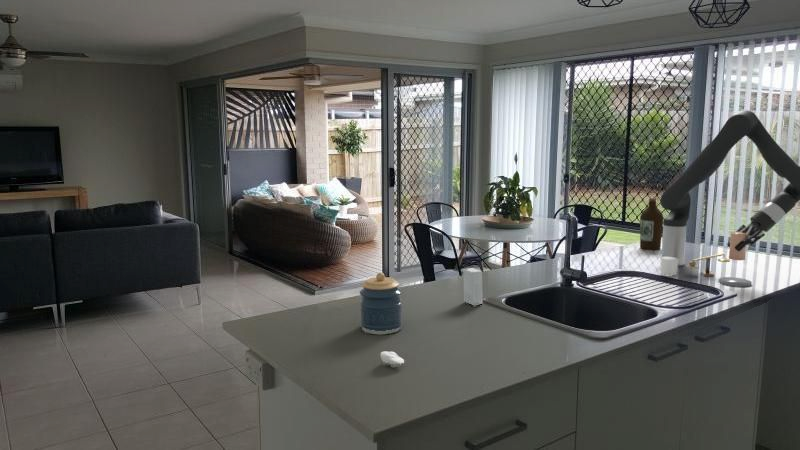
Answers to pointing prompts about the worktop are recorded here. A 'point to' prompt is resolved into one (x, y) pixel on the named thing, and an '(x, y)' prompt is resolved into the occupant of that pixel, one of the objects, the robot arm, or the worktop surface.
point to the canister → (381, 304)
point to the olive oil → (651, 227)
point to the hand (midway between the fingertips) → (732, 247)
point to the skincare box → (473, 286)
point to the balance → (707, 272)
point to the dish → (735, 281)
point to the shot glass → (669, 265)
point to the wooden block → (734, 240)
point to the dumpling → (391, 358)
